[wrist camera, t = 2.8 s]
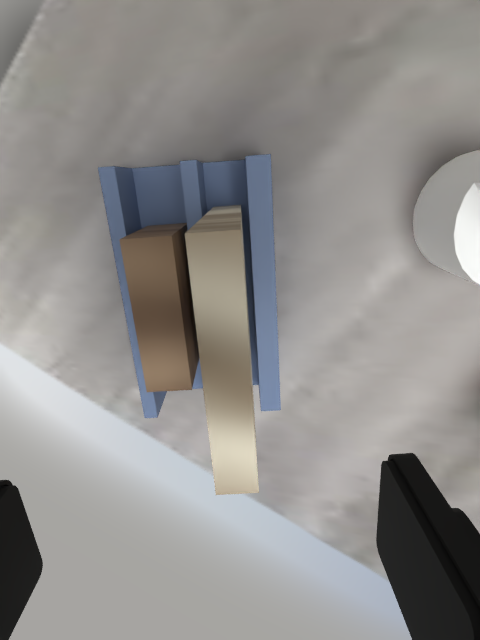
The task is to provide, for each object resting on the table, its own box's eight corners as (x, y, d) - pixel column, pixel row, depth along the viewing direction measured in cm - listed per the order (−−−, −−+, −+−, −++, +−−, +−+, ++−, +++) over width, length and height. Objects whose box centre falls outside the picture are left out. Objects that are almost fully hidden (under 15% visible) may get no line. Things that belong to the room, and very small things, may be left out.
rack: (122, 169, 28) (97, 167, 23) (265, 158, 27) (270, 154, 23) (158, 385, 34) (144, 418, 29) (275, 377, 33) (280, 410, 29)
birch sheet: (213, 206, 27) (184, 233, 13) (240, 204, 27) (240, 229, 13) (227, 355, 32) (215, 494, 18) (250, 353, 32) (258, 492, 17)
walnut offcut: (147, 225, 28) (119, 239, 21) (188, 222, 28) (171, 235, 21) (166, 348, 31) (146, 392, 25) (202, 345, 31) (191, 389, 25)
